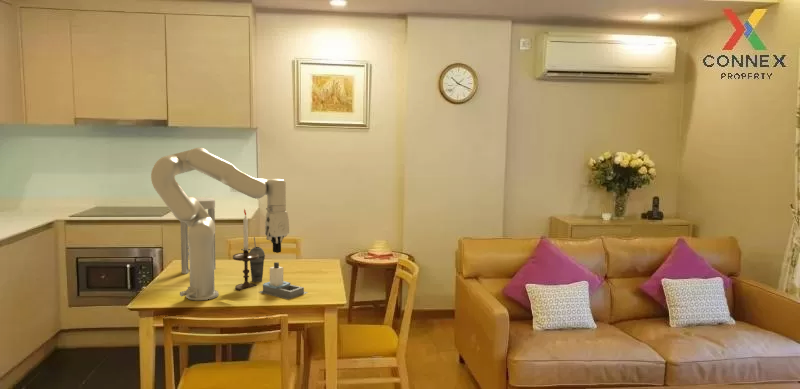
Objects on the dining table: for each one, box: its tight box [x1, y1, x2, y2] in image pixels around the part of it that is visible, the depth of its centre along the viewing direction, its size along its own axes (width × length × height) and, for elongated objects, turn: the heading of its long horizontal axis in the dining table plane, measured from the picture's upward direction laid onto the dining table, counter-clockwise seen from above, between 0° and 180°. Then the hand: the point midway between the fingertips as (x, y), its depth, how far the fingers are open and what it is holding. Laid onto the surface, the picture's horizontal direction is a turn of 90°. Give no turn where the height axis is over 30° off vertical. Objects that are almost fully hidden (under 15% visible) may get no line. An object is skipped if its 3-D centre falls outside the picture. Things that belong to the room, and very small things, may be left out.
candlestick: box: [232, 208, 259, 291], centre depth 246 cm, size 11×11×35 cm
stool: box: [179, 196, 217, 275], centre depth 272 cm, size 16×16×35 cm
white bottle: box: [269, 262, 284, 286], centre depth 241 cm, size 4×4×12 cm
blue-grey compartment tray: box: [259, 280, 309, 300], centre depth 239 cm, size 12×17×4 cm
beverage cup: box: [248, 236, 266, 283], centre depth 259 cm, size 7×7×20 cm
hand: (276, 252), depth 239 cm, fingers closed
